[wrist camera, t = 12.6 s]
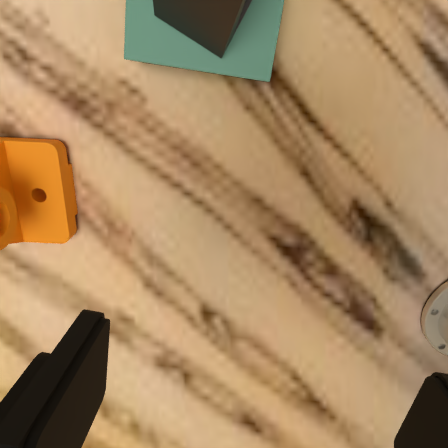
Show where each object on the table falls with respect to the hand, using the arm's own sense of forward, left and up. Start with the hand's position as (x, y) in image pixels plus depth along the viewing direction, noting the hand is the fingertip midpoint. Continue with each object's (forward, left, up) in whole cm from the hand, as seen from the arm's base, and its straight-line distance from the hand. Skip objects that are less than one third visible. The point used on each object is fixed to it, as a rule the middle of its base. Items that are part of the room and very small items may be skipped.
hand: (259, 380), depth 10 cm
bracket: (+21, +6, -29) cm, 36 cm away
